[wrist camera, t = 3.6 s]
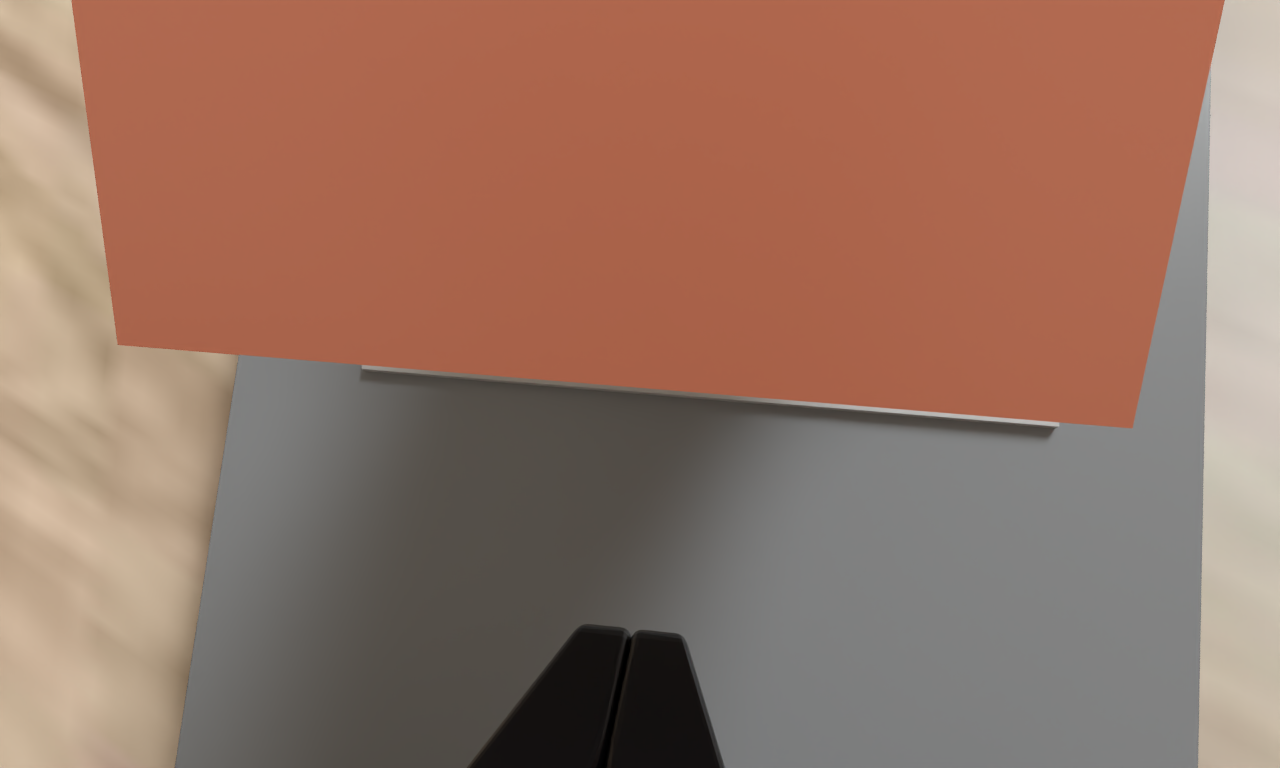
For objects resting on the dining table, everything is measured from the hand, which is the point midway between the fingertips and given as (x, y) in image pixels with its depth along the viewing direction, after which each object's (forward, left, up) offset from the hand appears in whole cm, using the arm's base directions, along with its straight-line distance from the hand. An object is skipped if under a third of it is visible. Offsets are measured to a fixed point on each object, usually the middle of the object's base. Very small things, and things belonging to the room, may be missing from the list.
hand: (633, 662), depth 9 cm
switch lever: (+7, +3, -5) cm, 9 cm away
